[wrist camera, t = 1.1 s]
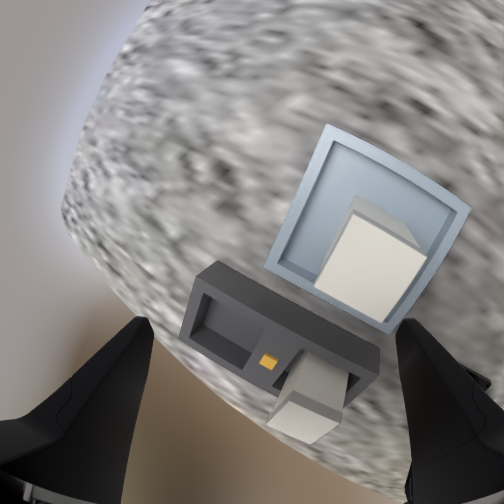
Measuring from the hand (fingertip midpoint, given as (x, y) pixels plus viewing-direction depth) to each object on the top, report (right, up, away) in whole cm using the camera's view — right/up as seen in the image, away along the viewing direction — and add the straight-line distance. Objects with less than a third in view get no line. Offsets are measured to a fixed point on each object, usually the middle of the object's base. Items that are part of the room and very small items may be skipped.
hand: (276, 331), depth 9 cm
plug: (+7, +4, +9) cm, 12 cm away
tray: (+7, +4, +10) cm, 13 cm away
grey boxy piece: (+2, -5, +15) cm, 16 cm away
